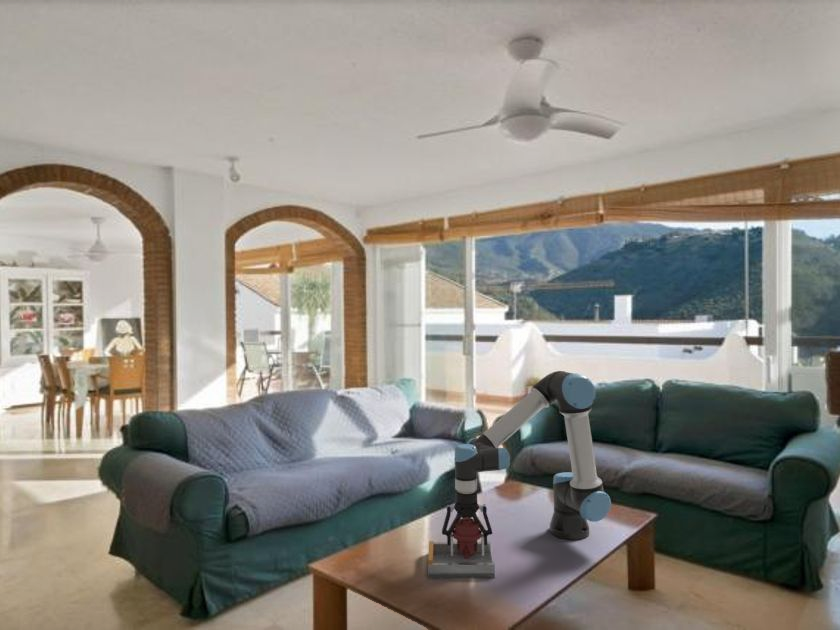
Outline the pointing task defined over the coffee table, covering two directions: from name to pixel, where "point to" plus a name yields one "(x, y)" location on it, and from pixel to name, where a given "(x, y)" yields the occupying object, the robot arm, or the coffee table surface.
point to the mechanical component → (467, 536)
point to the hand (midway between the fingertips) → (467, 554)
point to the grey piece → (459, 562)
